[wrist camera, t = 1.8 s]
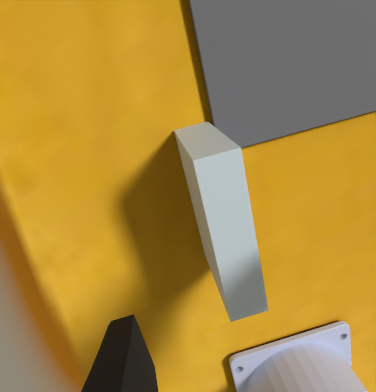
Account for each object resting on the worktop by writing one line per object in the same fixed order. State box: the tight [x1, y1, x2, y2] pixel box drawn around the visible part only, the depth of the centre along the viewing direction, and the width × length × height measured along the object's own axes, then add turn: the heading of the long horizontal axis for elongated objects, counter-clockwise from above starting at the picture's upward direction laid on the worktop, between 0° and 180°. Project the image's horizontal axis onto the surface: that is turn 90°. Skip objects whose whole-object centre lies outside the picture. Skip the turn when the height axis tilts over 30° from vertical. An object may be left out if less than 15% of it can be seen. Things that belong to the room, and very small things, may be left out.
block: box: [174, 121, 268, 322], centre depth 14 cm, size 7×2×5 cm, turn 13°
